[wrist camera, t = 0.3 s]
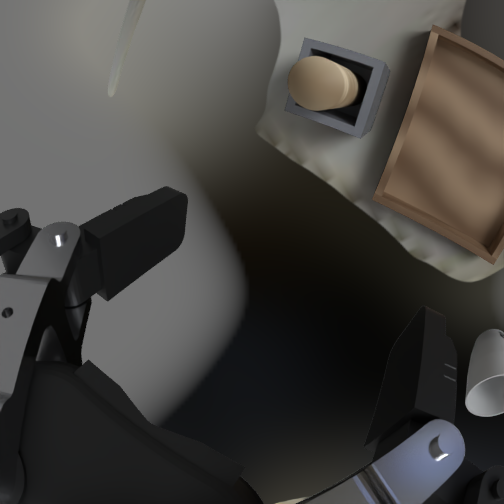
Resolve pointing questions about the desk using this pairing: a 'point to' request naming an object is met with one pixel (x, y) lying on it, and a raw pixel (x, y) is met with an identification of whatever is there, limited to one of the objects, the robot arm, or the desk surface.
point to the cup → (486, 375)
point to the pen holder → (352, 117)
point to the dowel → (324, 84)
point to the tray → (452, 147)
